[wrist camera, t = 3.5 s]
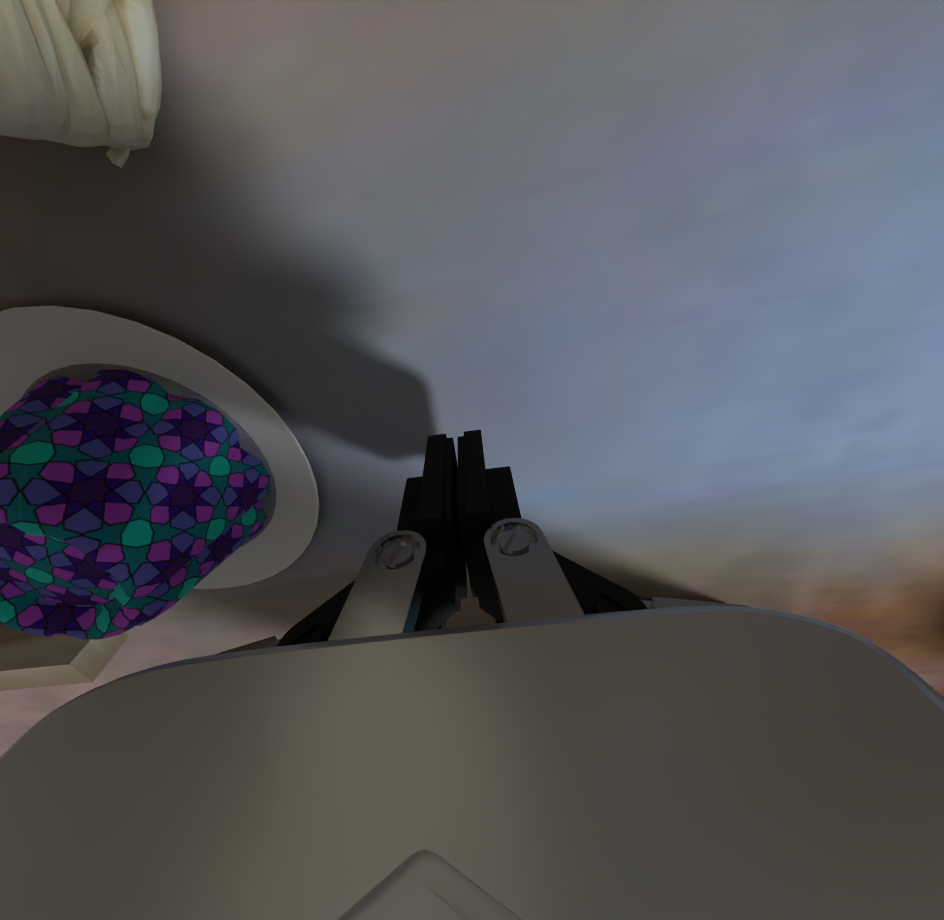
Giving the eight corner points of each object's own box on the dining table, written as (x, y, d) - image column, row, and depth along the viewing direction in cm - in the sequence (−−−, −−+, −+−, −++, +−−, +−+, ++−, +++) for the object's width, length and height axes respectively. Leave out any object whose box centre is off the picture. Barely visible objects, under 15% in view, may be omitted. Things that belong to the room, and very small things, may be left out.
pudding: (246, 608, 19) (181, 727, 14) (-64, 482, 14) (-301, 603, 10) (385, 457, 14) (353, 566, 10) (-8, 195, 9) (-414, 175, 5)
